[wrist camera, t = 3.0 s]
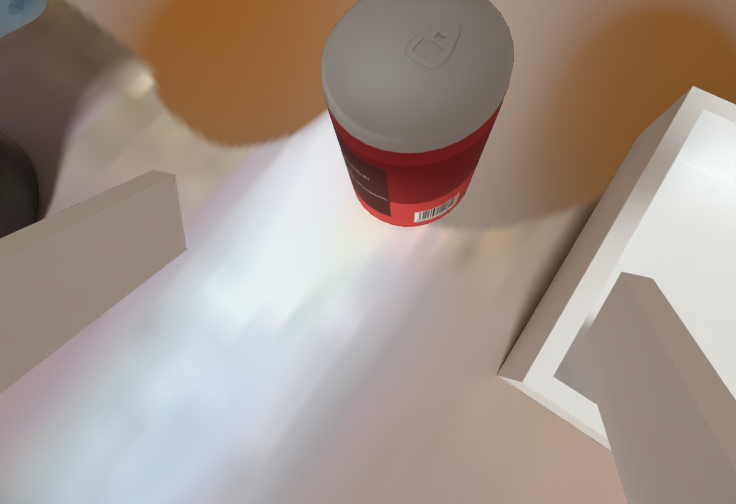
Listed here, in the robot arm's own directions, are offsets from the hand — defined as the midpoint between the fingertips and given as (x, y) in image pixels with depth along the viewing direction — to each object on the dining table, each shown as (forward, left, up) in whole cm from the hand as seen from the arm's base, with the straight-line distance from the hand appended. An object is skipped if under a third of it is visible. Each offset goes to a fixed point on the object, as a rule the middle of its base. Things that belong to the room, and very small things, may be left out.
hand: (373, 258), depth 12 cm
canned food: (-4, +8, -13) cm, 16 cm away
